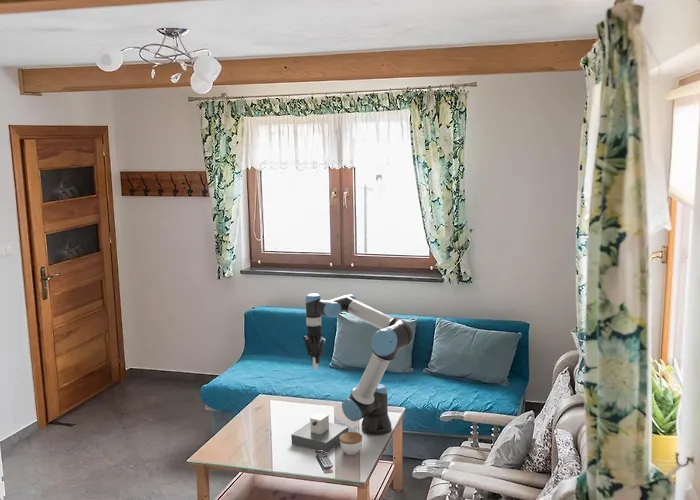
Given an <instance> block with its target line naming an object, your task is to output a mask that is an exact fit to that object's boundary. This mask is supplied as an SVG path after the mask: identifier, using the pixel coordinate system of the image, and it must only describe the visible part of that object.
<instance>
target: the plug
mask: <svg viewBox="0 0 700 500" xmlns="http://www.w3.org/2000/svg"><path fill="white" fill-rule="evenodd" d="M329 416H330V415H328V414H325V413H320V412H317V413H315V414H314V415H312V416H311V417H310V421H309V422H310V425H311V432H313V433H317V434H323V433H324V432H325V431H327V430H328V429H329V423H330V421H329Z"/></svg>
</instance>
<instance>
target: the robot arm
mask: <svg viewBox="0 0 700 500" xmlns="http://www.w3.org/2000/svg"><path fill="white" fill-rule="evenodd" d="M321 297H322V296H321V295H320V294H319V293H314V292H313V293H308V294H307V295H306V296H305V303H304V304H305V318H306V319H305V321H306V332H307V333H306V335H304V336H302V339H303V341H304V343H305V348H306V353H307V355H308V356H309V357H311V363H312V369H313V371H317V370H318V369H319V363H320V357H323V355H324V354H323V353H324V348H325V345H326V341H327V338H324V337H323V335H322V330H323V329H322V316H325V317H328V318H337V317H338V316H339V315H340V314H341V313H344V312H345V313H347V314H349V315H350V316H353V317H355V318H357V319H359V320H362V321H363V322H365V323H368V324H370V326H371V325H372V326H374V327H375V328H377V329H379V330H377V331H376V332H374V333H373V335H372V337H371V339H370V344H371V351H372V354H371V357H370V359H369V361H368V363H367V365H366V368H365V369H364V371H363V374H362V376H361V379H360V380H359V382H358V385H357V386H355V387H353V388H352V390H351V391H350V394H349V396H348V397H346V398H345V399H343V401H342V402H341V409H342V413H343V415H344V416H345V417H346V418H347V419H348V420H349V421H352V422H358V421H360V420H362V421H361V427H360V428H361V431H362V432H363V433H364V434H368V435H371V436H372V435H373V436H375V435H376V436H380V435H385V434H388V433H389V432H391V431H392V422H391V420H390V419H391V418H390V416H389V411H388V409H389V408H388V407H389V406H388V394H389V393H388V388H387V386H386V385H385V384H382V383H380V382H381V380H382V378H383V376H384V374H385V371H386V369H387V368H388V366H389V364H390V362H391V361H394V360H395V359H396V357H397V354H399V352H400V350H402V349H404V348H406V347H408V346H410V345H411V343H412V342H413V340H414V329H413V327H412V326H411V325H410V324H409V323H408V322H407V321H405V320H404V319H402V318H399V317H397V316H396V317H392V316H390V315H388V314H386V313H384V312H382V311H379V310H377V309H375V308H373V307H371V306H369V305H367V304H365V303H363V302H360V301H358V299H357V298H356V296H355V295H353V294H350V293H349V294H345V295H342V296H339V297H335V298H332V299H329V300H325V299H322V298H321Z"/></svg>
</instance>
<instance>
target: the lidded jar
mask: <svg viewBox="0 0 700 500" xmlns="http://www.w3.org/2000/svg"><path fill="white" fill-rule="evenodd" d="M339 440H340V443H339V446H340V449H341V450H342V452H343V453H344V454H345V455H347V456H355V455H358V453H359V452H360V450H361V449H362V446H363V435H362V434H361V433H359V432H355V431H348V432H347V433H343V434H342V435H340V437H339Z"/></svg>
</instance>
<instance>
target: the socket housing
mask: <svg viewBox="0 0 700 500" xmlns="http://www.w3.org/2000/svg"><path fill="white" fill-rule="evenodd" d="M347 432H349V426H346V425H343V424H338V423H333V422H329V429H328V430H327V431H325V432H324V433H323V434H317V433H313V432H311V425H310V421H309V422H308V423H306V424H305V425H304V426H302V427H300V428H299V429H297V430H296V431H295V432H293V433H292V434H290V436H291V445H293V446H297V447H298V446H299V447H302V448H305V449H309V450H310V449H311V450H313V449H314V451H317V450H323V451H325V452H327V453H328V452H329V451H332V449H334V448H335V447H336V446H337V445H340V440H339V437H340V435H342V434H343V433H347ZM325 452H324V453H325Z"/></svg>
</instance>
